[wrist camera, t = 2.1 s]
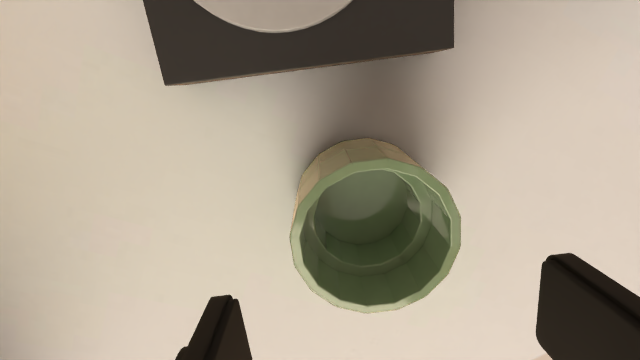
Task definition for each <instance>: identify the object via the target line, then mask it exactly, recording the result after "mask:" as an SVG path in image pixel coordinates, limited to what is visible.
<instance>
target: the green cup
mask: <svg viewBox="0 0 640 360" xmlns="http://www.w3.org/2000/svg"><path fill="white" fill-rule="evenodd" d="M290 243H291V249H292V255H293V261H294V265H295V268H296V269H297V271H298V272H299V274H300V275H301V276H302V278H303V279H304V281H305V282H306V284H307V285H308V287H309V288H310V290H312V291H313V292H314V293H316V294H317V295H319V296H320V297H322V298H323V299H325V300H326V301H328V302H329V303H331V304H332V305H334V306H336V307H339V308H344V309H348V310H353V311H357V312H361V313H375V312H384V311H393V310H398V309H400V308H402V307H405V306H407V305H409V304H411V303H413V302H415V301H417V300H420V299H422V298H424V297H425V296H427V295H428V294H429V293H430V292H431V291H432V290H433V289H434V288H435V287H436V286H437V285H438V284H439V283H440V282H441V281H442V280H443V279H444V278H445V277H446V276H447V275H448V274H449V271H450V269H451V267H452V265H453V263H454V260H455V258H456V256H457V254H458V252H459V249H460V246H461V217H460V213H459V211H458V209H457V207H456V205H455V203H454V201H453V199H452V196H451V194H450V192H449V190H448V189H447V187H446V186H445V185H443V184H442V183H441V182H440V181H438V180H437V179H436V178H435V177H433V176H432V175H431V174H430V173H429V172H427V171H426V170H425V169H424V168H422V167H421V166H420V165H419V164H418V163H416V162H415V161H414V160H413V159H411V158H410V157H409V156H408V155H406V154H405V153H404V152H403V151H402V150H400V149H399V148H398V147H397V146H395V145H393V144H390V143H386V142H382V141H379V140H375V139H371V138H363V139H355V140H347V141H342V142H340V143H338V144H336V145H334V146H332V147H331V148H329V149H327V150H325V151H324V152H322V153H320V154H319V155H317V157H316V158H315V159H314V160H313V162H312V163H311V164H310V165H309V167H308V168H307V169H306V171H305V172H304V173H303V175H302V177H301V181H300V184H299V188H298V192H297V195H296V200H295V206H294V212H293V218H292V225H291V231H290Z"/></svg>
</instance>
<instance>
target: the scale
mask: <svg viewBox="0 0 640 360" xmlns="http://www.w3.org/2000/svg"><path fill="white" fill-rule="evenodd" d="M143 2H144V6H145V10H146V14H147V18H148V22H149V26H150V30H151V33H152V37H153V41H154V45H155V49H156V53H157V57H158V61H159V64H160V68H161V72H162V76H163V80H164V84H165V85H166V86H171V85H189V84H197V83H204V82H212V81H220V80H227V79H235V78H243V77H250V76H258V75H266V74H273V73H281V72H289V71H296V70H304V69H312V68H319V67H327V66H335V65H342V64H350V63H358V62H365V61H373V60H381V59H388V58H396V57H404V56H411V55H419V54H427V53H434V52H439V51H443V50H447V49H452V48H454V0H143Z"/></svg>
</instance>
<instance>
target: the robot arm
mask: <svg viewBox="0 0 640 360" xmlns="http://www.w3.org/2000/svg"><path fill="white" fill-rule="evenodd" d="M536 337H537V340H538V342H539V344H540V345H541V347H542V348H543V349H544V350H545V351H546V352H547V353H548V355H549V356H550V357H551V358H552V359H553V360H640V297H639V296H637V295H636V294H634V293H632V292H631V291H629V290H628V289H626V288H625V287H623V286H622V285H620V284H619V283H617V282H616V281H614V280H612V279H611V278H609V277H608V276H606V275H605V274H603V273H602V272H600V271H599V270H597V269H596V268H594V267H593V266H591V265H589V264H588V263H586V262H585V261H583V260H582V259H580V258H579V257H577V256H576V255H574V254H572V253H565V254H557V255H550V256H548V257H547V259H546V261H544V262H543V263H542V269H541V280H540V291H539V302H538V314H537V325H536ZM175 360H252V356H251V352H250V348H249V343H248V339H247V335H246V330H245V326H244V322H243V318H242V313H241V309H240V305H239V301H238V299H233V298H232V296H231V295H224V296H216V297H211V298H210V300H209V302H208V304H207V306H206V308H205V310H204V313H203V315H202V317H201V319H200V321H199V323H198V325H197V328H196V330H195V332H194V334H193V336H192V338H191V340H190V342H189V345H188V346H187V347H183V348H182V349H181V350H180V352H179V353H178V355H177V357H176V359H175Z"/></svg>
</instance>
